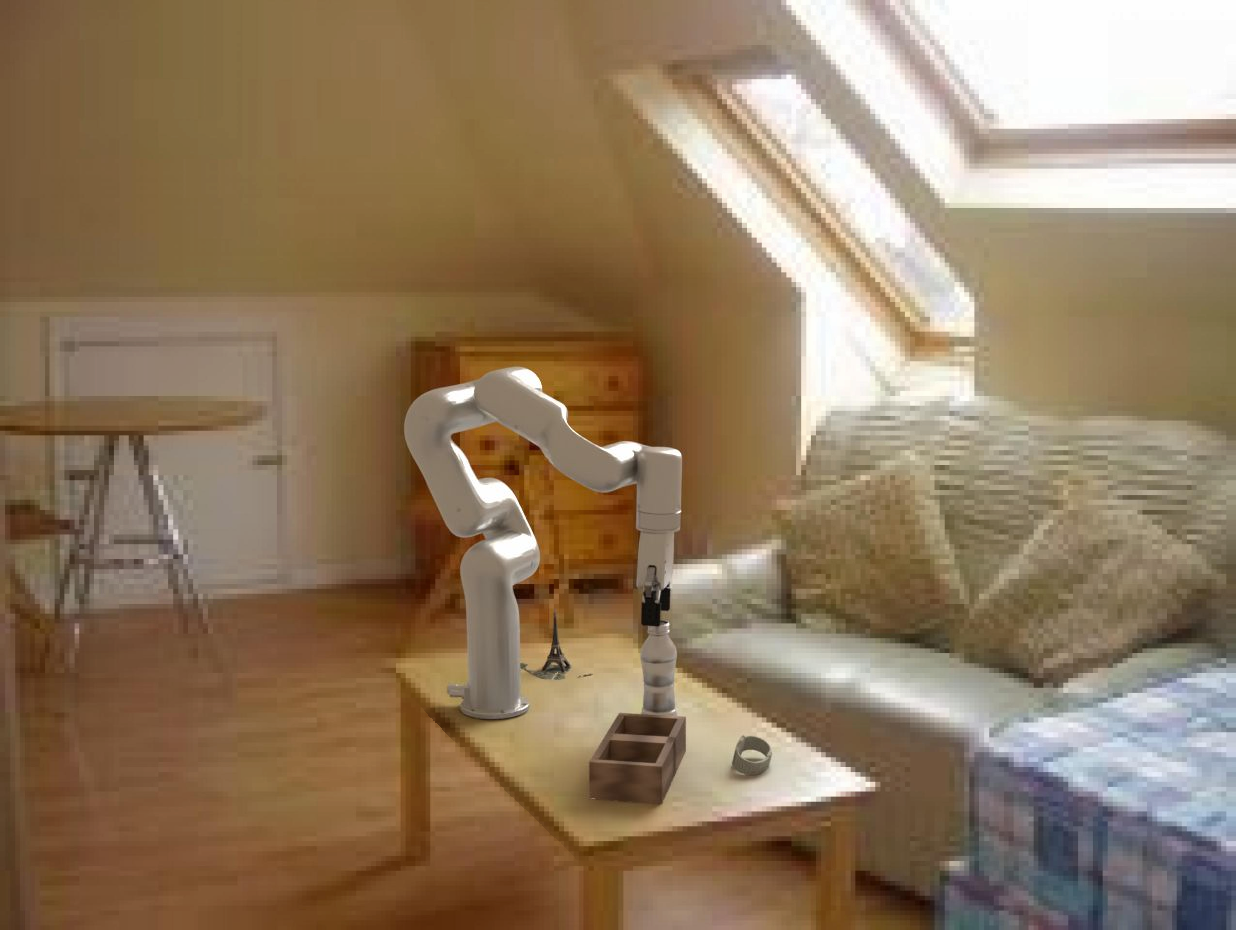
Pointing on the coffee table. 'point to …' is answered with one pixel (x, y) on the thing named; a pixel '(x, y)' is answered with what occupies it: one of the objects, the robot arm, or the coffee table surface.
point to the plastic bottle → (658, 671)
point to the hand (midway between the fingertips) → (655, 617)
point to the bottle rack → (638, 758)
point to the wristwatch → (748, 766)
